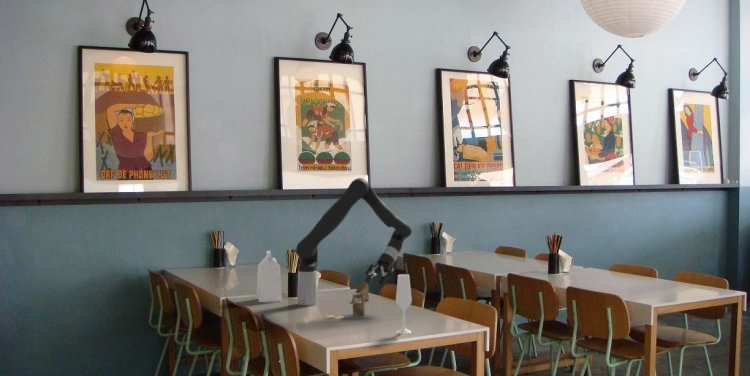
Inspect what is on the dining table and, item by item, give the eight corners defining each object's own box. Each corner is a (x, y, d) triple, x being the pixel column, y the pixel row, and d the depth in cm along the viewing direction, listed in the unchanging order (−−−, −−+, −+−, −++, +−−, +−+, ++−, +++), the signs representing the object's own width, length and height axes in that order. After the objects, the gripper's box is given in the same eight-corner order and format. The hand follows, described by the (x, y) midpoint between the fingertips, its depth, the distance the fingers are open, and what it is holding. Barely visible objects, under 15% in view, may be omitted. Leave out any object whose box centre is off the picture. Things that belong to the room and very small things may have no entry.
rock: (353, 299, 376) (371, 295, 378) (349, 284, 381) (367, 281, 383) (351, 308, 385) (369, 305, 387) (347, 294, 390) (365, 291, 392)
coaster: (322, 319, 333) (322, 318, 333) (325, 316, 342) (325, 315, 342) (342, 320, 332) (342, 319, 332) (344, 316, 341) (344, 315, 341)
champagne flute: (411, 330, 308) (410, 273, 308) (412, 333, 301) (412, 276, 301) (395, 330, 308) (395, 274, 308) (396, 334, 301) (396, 276, 301)
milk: (256, 299, 392) (256, 250, 392) (277, 297, 396) (277, 250, 395) (259, 302, 381) (259, 253, 381) (281, 301, 384) (281, 252, 384)
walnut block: (352, 316, 339) (352, 294, 339) (354, 314, 344) (354, 292, 344) (363, 316, 339) (363, 294, 339) (364, 314, 344) (364, 293, 344)
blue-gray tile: (344, 318, 336) (344, 317, 336) (347, 313, 348) (347, 312, 348) (370, 318, 335) (370, 317, 335) (372, 313, 347) (372, 312, 347)
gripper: (373, 251, 361) (358, 277, 352) (396, 253, 351) (381, 279, 343) (380, 261, 365) (365, 287, 356) (402, 263, 356) (388, 289, 347)
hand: (373, 283), depth 349 cm, fingers open, 8 cm apart
